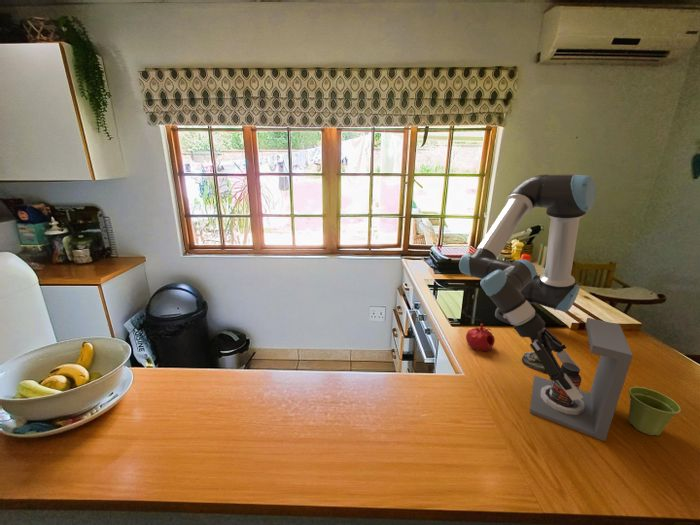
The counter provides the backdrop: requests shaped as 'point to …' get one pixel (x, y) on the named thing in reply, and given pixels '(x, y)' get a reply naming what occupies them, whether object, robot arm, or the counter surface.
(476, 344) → the pomegranate
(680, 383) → the counter surface
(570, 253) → the robot arm
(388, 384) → the counter surface
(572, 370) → the supplement bottle
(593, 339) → the seat stand
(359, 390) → the counter surface
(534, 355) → the dark grey oval piece
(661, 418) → the plant pot
